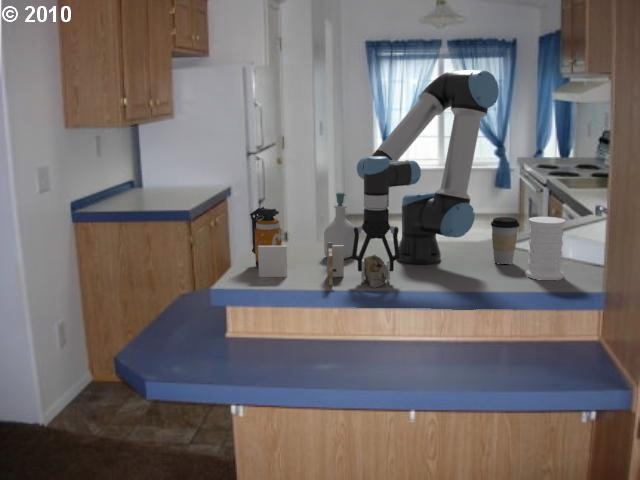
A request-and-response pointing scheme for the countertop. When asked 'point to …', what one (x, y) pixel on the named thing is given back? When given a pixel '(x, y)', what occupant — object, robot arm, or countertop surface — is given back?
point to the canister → (265, 229)
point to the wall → (276, 260)
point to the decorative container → (545, 248)
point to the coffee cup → (504, 239)
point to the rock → (375, 271)
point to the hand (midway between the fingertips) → (375, 281)
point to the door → (330, 267)
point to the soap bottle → (340, 229)
